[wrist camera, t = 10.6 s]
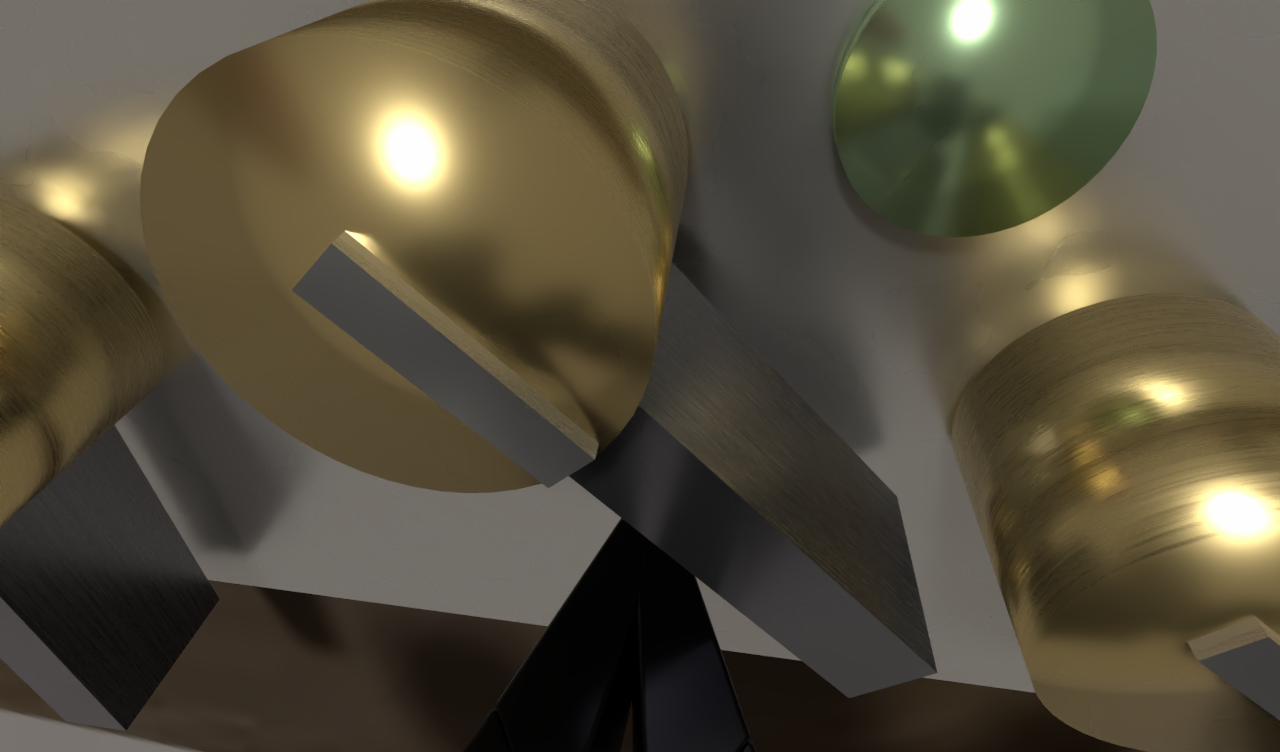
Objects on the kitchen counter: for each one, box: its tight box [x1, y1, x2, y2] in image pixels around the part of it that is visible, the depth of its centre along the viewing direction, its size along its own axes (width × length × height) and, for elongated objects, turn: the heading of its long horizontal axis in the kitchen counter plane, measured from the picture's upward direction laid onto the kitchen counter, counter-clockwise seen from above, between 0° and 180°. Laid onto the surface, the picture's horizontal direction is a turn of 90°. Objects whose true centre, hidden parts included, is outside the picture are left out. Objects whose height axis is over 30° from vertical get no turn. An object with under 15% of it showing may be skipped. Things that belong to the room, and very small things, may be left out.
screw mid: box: [140, 0, 937, 698], centre depth 8 cm, size 9×4×4 cm, turn 43°
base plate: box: [0, 0, 1280, 693], centre depth 11 cm, size 14×22×1 cm, turn 88°
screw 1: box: [0, 194, 219, 731], centre depth 11 cm, size 9×4×4 cm, turn 178°
